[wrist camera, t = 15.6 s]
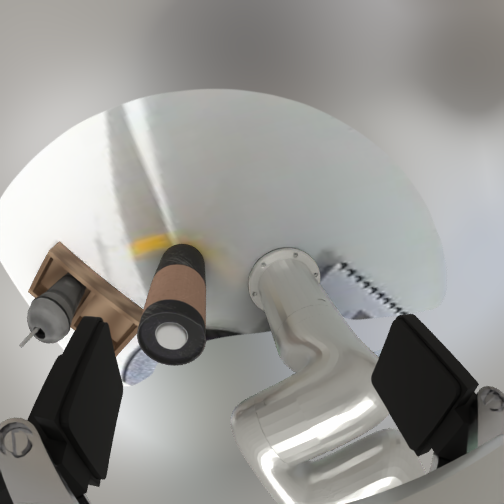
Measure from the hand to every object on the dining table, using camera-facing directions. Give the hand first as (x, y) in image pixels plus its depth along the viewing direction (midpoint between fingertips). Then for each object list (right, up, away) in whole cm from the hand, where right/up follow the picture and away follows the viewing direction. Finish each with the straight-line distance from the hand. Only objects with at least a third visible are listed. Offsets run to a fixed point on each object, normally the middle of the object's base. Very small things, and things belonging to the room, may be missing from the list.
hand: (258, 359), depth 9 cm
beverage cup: (-31, -2, +37) cm, 49 cm away
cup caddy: (-30, -5, +39) cm, 49 cm away
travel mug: (-11, +1, +40) cm, 41 cm away
